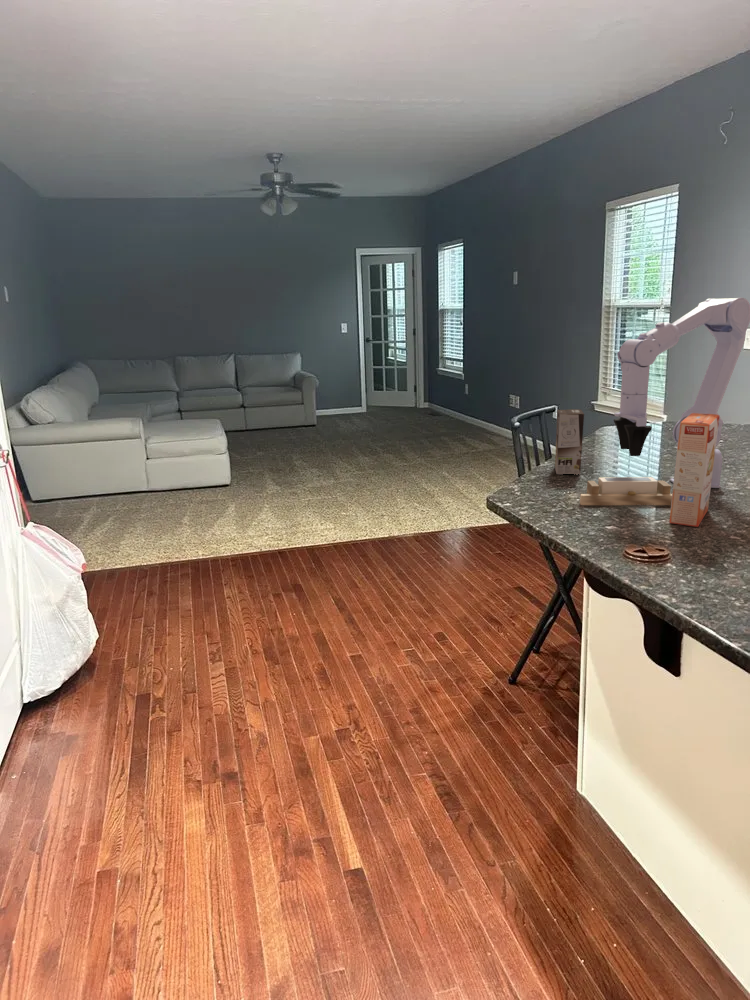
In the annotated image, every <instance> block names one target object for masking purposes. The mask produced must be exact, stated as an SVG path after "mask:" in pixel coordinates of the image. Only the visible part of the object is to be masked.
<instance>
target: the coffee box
mask: <svg viewBox="0 0 750 1000" xmlns="http://www.w3.org/2000/svg"><path fill="white" fill-rule="evenodd" d="M584 420H585V413H584V412H583V410H582V409H581V408H580V409H579V408H578V409H576V408H575V409H573V408H572V409H557V411H556V433H555V435H556V437H555V456H554V458H555V459H554V469H555V473H556V475H563V474H574V475H573V476H581V468H582V467H581V466H582V454H583V453H582V452H583V436H584V435H583V434H584V422H585V421H584ZM575 474H576V475H575ZM578 474H579V475H578Z"/></svg>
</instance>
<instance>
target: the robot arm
mask: <svg viewBox="0 0 750 1000" xmlns="http://www.w3.org/2000/svg"><path fill="white" fill-rule="evenodd" d="M749 325H750V302H749V300H748V299H746V298H744V297H733V298H729V297H728V298H714V297H710V298H707V299H705V300H704V301H702V302H699V303H698V304H697V306H696V307H695V308H693V309H692V310H690V311H689V312H687V313H685V314H684V315H683V316H681V317H679V318H678V319H676V320H675V321H674V322H672V323H671V322H666V321H665V322H663V321H662V322H660V321H659V322H657V323H656V324H655V327H654V328H652V329H650V330H648V331H646V332H642V333H640V334H638V336H637V338H635V339H634V338H631V339H629V338H628V339H627V340H625V341H624V342H623V343H622V344H621V346H620V348H619V350H618V351H617V352H616V353H617V355H616V356H617V359H618V361H619V363H620V370H621V385H620V386H621V388H620V399H619V400H620V401H619V405H620V406H619V412H614V413H613V416H615V417H616V418H614V419H613V423H614V424H615V427H616V430H617V431H616V432H617V434H618V441H619V446H620V449H621V450H628V453H629V456H630V457H641V454H642V452H643V448H644V444H645V442H646V439H647V437H648V435H649V434H650V433H651V431H652V428H653V427H652V426H651V425H647V421H648V413H647V408H648V406H647V405H648V395H649V394H648V393H649V381H650V370H651V369H650V367H651V365H653V364H654V362H655V361H656V359H657V356H659V355H660V354H663V353H664V352H666V351H667V350H669V349H671V348H673V347H675V346H677V344H678V342H679V340H680V337H681V336H684V335H685V334H688V333H689V332H691V331H693V330H695V329H698V328H699V327H701V326H704V327H705V329H707V331H708V332H709V333H710V335H712V336H713V337H714V338H715V340H716V345H715V348H714V351H713V354H712V355H711V359H710V360H709V364H708V366H707V369H706V371H705V374H704V376H703V379H702V382H701V384H700V388H699V389H698V392H697V395H696V397H695V400H694V403H693V405H692V406H691V407H689V408H687V409H686V410H684V411H683V412H682V414H681V417H680V418H679V420H678V421H677V422H676V423H675V425H674V426H673V429H672V438H673V440H674V441H675V443H676V446H677V445H678V436H679V427H680V422H681V421H683V420H684V419H685V418H686V417H687V416H689V415H690V414H691V413H699V414H716V415H719V413H718V411H719V409H720V406H721V403H722V400H723V398H724V395H725V393H726V390H727V387H728V385H729V383H730V380H731V377H732V376H733V372H734V371H735V368H736V364H737V362H738V359H739V357H740V354H741V351H742V349H743V346H744V344H745V341H746V335H747V330H748V328H749ZM617 417H619V418H617ZM723 425H724V421H723V419H722V418H721V416H720V417H719V425H718V433H717V441H716V447H717V446H718V445H719V443H720V440H721V439H722V427H723ZM722 466H723V456H722V452H721V450H720V449H718V448H716V449H715V457H714V466H713V474H712V482H711V489H720V488H721V477H722ZM669 481H670V482H671V483H672V484H673V483H674V477H671V478H669Z"/></svg>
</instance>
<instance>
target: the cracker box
mask: <svg viewBox="0 0 750 1000" xmlns="http://www.w3.org/2000/svg"><path fill="white" fill-rule="evenodd" d="M719 417H720V418H721V416H720V415H719V414H718V415H716V414H699V413H691V414H690V415H689V416H687V417H686V418H685V419H684V420H683V421H681V422H680V427H679V436H678V445H677V444H676V456H675V457H676V458H675V466H674V476H673V478H674V483H673V482H672V484H673V485H672V493H671V494H672V501H671V505H670V513H669V524H674V525H680V526H686V527H687V526H688V527H695V528H699V526H700V524H701V522H702V521H703V519H704V517H705V515H706V514H708V513H707V512H708V511H709V506H710V505H709V503H710V496H711V490H712V488H711V482H712V474H713V466H714V457H715V449H717V446H716V441H717V433H718V425H719Z"/></svg>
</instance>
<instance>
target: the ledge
mask: <svg viewBox="0 0 750 1000" xmlns="http://www.w3.org/2000/svg"><path fill="white" fill-rule="evenodd" d="M657 481H658V484H657V494H636V492H634V491H629V492H628V494H599V485H598V482H596V481H595V480H587V482H586V483H587V485H586V493H580V496H579V504H580V506H671V501H672V493H671V487H672V486H671V485H670V484H669V483H668V482H666V481H665V480H657Z"/></svg>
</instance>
